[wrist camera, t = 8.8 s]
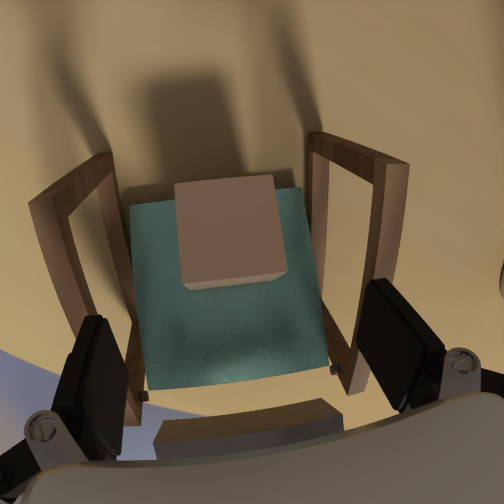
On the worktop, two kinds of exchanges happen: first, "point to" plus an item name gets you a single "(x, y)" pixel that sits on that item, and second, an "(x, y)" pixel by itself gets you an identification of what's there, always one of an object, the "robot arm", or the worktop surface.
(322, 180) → the frame
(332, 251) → the worktop surface
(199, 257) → the pinkish beige cube
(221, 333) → the chair seat and backrest
